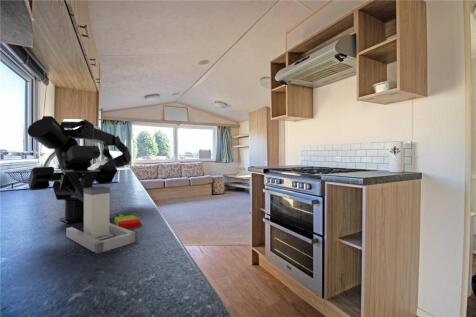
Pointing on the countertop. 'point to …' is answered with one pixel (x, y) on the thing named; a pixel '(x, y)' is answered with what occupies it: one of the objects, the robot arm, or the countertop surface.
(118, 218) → the popsicle
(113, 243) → the frame
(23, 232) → the countertop surface
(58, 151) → the robot arm
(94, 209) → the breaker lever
